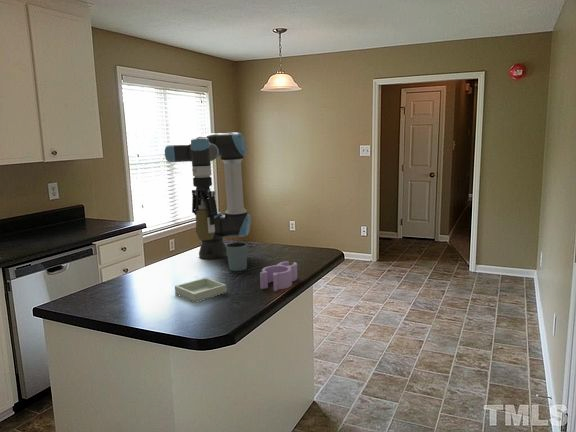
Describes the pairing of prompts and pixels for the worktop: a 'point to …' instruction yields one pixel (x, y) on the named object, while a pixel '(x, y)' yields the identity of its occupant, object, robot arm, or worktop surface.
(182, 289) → the tray
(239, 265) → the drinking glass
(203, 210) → the squeeze bottle
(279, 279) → the clip
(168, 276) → the worktop surface
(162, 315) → the worktop surface
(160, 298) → the worktop surface
